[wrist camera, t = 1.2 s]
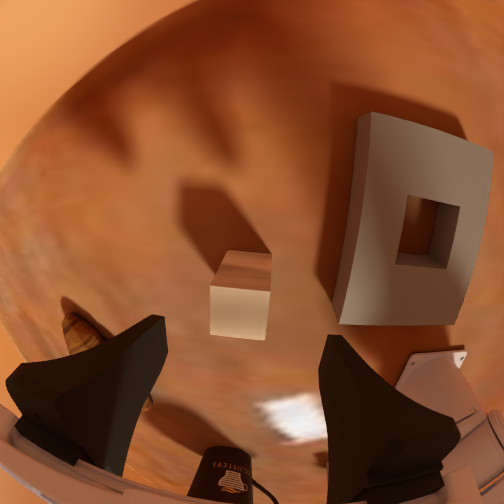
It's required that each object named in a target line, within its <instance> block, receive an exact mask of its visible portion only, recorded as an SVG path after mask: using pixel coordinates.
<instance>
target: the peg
mask: <svg viewBox="0 0 504 504" xmlns="http://www.w3.org/2000/svg"><path fill="white" fill-rule="evenodd" d="M271 262H272V254H267V253H256V252H245V251H234V250H227V252H226V254H225V256H224V258H223V260H222V262H221V264H220V266H219V268H218V270H217V273H216V275H215V277H214V279H213V281H212V283H211V285H210V334H212V335H220V336H228V337H236V338H245V339H255V340H265V335H266V326H267V318H268V309H269V300H270V290H271Z"/></svg>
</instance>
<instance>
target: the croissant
mask: <svg viewBox="0 0 504 504" xmlns="http://www.w3.org/2000/svg"><path fill="white" fill-rule="evenodd" d="M62 327H63V333H64V338H65V341H66V344H67V347H68V350H69V353H70V355H73V354H76V353H79V352H82V351H85V350H87V349H90V348H92V347H95V346H97V345H99V344H101V343H103V342H105V341H106V340H104V339H103V337H102V336H101V335H100V333H99V332H98V331H97V330H96V329H95V328H94V327H92V326H91V325H90V324H89V323H88V322H87V321H86V320H85V319H83V318H82V317H80V316H79V315H78V314H76V313H75V312H73V313H70V314H67V315H66V316H65V318H64V320H63V321H62ZM152 405H153V400H152V398H151V396H150V394H149V395H148V397H147V399H146V401H145V403H144V405H143V407H142V410H141V411H147V410H149V409H150V408H151V407H152Z"/></svg>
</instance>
